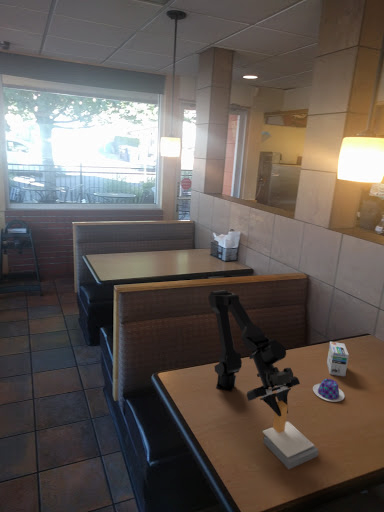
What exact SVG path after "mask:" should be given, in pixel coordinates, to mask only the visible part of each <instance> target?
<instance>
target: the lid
mask: <svg viewBox="0 0 384 512" xmlns="http://www.w3.org/2000/svg"><path fill="white" fill-rule="evenodd" d="M277 404H278V406H279V409H280V412H281V416H280V417H279V416H278V415H277V414H276V413H275V412H274V415H273V424H272V427H269V428H266V429H264V430H262V434H264V435H265V436H267V437H268V438H269V439H270V440H271V441H272V442H273V443H274V445H275V446H276V447H277V448H278V449H279V450H280V451H281V452H282V453H283V454H284V455H285V456H286V457H287V458H288V457H291V456H293V455H295V454H298V453H300V452H302V451H304V450H307V449H309V448H311V447H314V446H315V444H314V443H313V442H312V441H311V440H309V439H308V438H307V437H306V436H305V435H304V434H303V433H302V432H301V431H299V430H298V429H297V428H296V427H295V426H294V425H293V424H292V423H291V422H290V421H287V409H288V410H289V408H288V407H289V405H287V404H285V403H284V402H283V401H282V400H281V401H278V400H277Z"/></svg>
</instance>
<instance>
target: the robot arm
mask: <svg viewBox="0 0 384 512" xmlns="http://www.w3.org/2000/svg"><path fill="white" fill-rule="evenodd" d="M207 299H208V302H209V306H210V309H211V310H212V312H214V313H215V317H216V322H217V323H216V324H217V330H218V334H219V335H218V336H219V343H220V347H221V349H220V350H221V351H220V354H219V357H218V363H217V364H215V365H214V372H215V373H216V374H217V384H216V386H215V388H216V389H220V390H224V391H228V392H233V389H234V388H235V386H236V380H237V375H236V374H238V373H239V372H240V370H241V369H242V363H243V361H242V358H241V353H240V352H238V351H237V350H236V349H235V345H234V339H233V334H232V328H231V322H230V321H231V320H230V315H229V312H230V313H231V315H232V317H233V318H234V320H235V322H236V324H237V325H238V328H239V329H240V331H241V337H240V338H241V340H242V343H243V345H244V346H245V348H246V350H249V351H251V352H250V355H249V360H253V362H254V365H255V368H256V370H257V372H258V373H257V374H256V376H257V378H260V381H261V384H262V385H261V386H259V387H256V388H253V389H251V390H249V391H247V392H246V398H247V401H248V402H249V401H253V400H256V399H257V398H259V401H263V402H264V403H265V404H266V405H267V406H269V407H270V408H271V409H272V411H273V412H274V414H275V413H276V414H277V415H278V416H279V417H280V416H281V412H280V409H279V406H278V404H277V402H278V401H281V400H282V401H283V402H284V403H285V404H287V405H288V394H289V392H290V391H291V390H292V388H293V387H295V386H297V385H298V386H299V385H301V381H300V380H299V378H298V377H297V376H294V372H293V370H292V368H291V367H285V368H283V370H281V371H280V370H279V368H278V367H277V366H274V364H275V363H277V362H279V361H282V360H283V359H285V358H286V356H287V350H286V348H285V346H284V345H283V344H282V343H280V342H278V341H277V339H276V338H274V339H270V338H269V337H268V336H267V335H266V334H265V333H264V332H263V330H262V329H261V327H259V326H258V325H256V324H254V322H253V321H252V320H251V317H250V316H249V314H248V313H247V311H246V309H245V307H244V306H243V304H242V303H241V300H240V297H239V295H238V294H235V293H234V292H229V291H227V290H226V289H221V290H214V291H211V292H210V293H209V295H208V298H207ZM274 391H275V392H274ZM260 397H261V398H260ZM288 406H289V405H288ZM287 414H289V408H288V409H287Z"/></svg>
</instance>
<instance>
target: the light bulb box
mask: <svg viewBox="0 0 384 512" xmlns="http://www.w3.org/2000/svg"><path fill="white" fill-rule="evenodd" d="M328 345H329V346H328V347H329V348H328V354H327V360H326V365H327V369H328V372H329V375H333V376H338V377H344V378H345V377H346V374H347V368H348V362H349V359H350V358H349V357H350V354H349V352H348V349H347V347H346V343H341V342H336V341H335V342H334V341H329V344H328Z"/></svg>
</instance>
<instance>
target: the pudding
mask: <svg viewBox="0 0 384 512" xmlns="http://www.w3.org/2000/svg"><path fill="white" fill-rule="evenodd" d="M312 390H313V393H314V394H315V395H316V396H317V397H318V398H320V399H322V400H325V401H327V402H335V403H337V402H341V401H343V400H344V399H345V392H343V391H342V389H340V388H339V384H338V382H337V381H336V380H333V379H331V378H324V379H323V380H322V381H321V383H317V384H314V385H313V387H312Z"/></svg>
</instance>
